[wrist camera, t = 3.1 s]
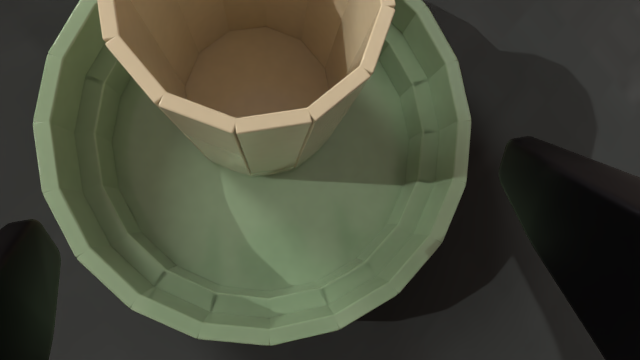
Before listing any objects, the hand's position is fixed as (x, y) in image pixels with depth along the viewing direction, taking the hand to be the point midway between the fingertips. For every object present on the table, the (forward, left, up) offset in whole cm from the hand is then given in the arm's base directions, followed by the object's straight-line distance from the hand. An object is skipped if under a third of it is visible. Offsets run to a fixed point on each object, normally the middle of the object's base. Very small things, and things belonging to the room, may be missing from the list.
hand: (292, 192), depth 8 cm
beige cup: (+4, -3, -11) cm, 12 cm away
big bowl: (+3, -2, -12) cm, 12 cm away
